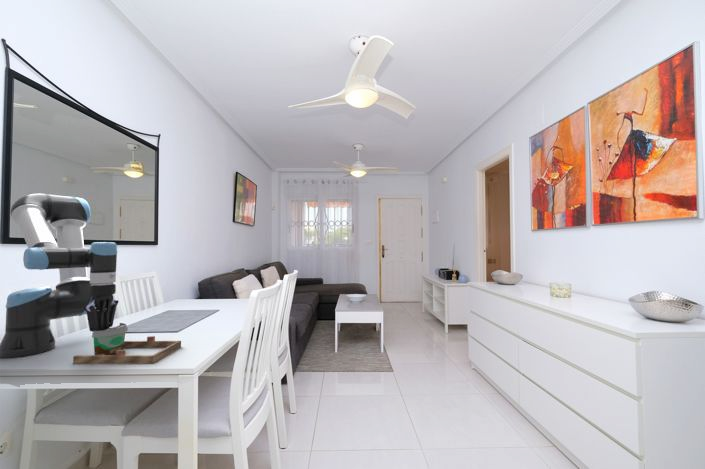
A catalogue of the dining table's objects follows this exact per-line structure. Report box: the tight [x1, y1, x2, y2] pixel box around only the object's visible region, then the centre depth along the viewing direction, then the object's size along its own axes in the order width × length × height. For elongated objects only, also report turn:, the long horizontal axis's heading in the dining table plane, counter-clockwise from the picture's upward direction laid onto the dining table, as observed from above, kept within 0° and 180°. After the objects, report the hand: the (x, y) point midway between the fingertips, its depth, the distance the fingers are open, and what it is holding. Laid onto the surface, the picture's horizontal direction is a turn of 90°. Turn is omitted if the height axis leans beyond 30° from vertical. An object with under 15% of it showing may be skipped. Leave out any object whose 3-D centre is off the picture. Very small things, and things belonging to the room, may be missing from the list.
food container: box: [91, 322, 129, 355], centre depth 112 cm, size 12×6×10 cm, turn 176°
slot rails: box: [72, 335, 182, 365], centre depth 112 cm, size 27×17×4 cm, turn 91°
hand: (100, 348), depth 112 cm, fingers closed
